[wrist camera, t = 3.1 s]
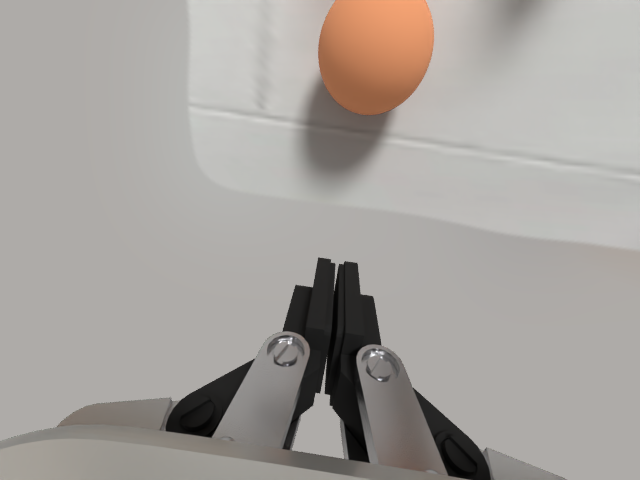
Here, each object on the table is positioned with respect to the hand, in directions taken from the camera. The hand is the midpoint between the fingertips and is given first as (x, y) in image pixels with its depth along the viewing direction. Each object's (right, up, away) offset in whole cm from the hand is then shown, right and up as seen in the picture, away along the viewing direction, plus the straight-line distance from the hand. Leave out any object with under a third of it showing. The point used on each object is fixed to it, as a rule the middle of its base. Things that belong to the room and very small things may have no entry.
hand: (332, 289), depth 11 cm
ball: (+2, +12, +3) cm, 13 cm away
